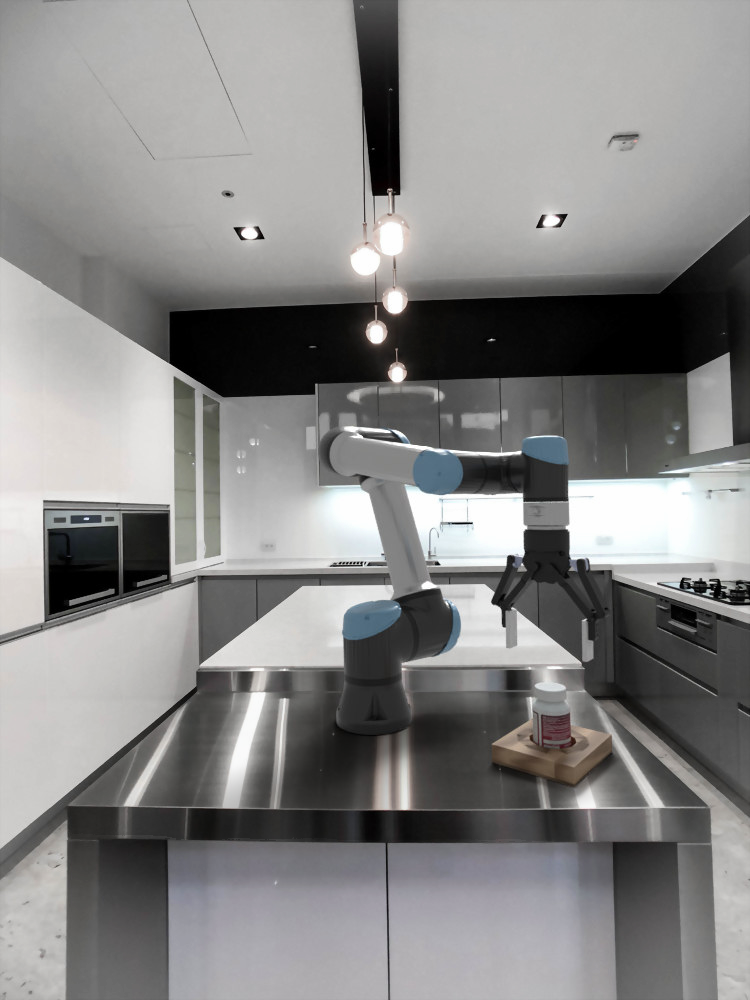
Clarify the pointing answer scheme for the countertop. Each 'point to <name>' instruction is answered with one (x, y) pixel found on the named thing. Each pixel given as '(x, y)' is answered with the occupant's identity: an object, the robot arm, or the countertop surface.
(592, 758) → the socket block
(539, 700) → the pill bottle
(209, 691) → the countertop surface
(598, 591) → the robot arm
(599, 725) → the countertop surface
